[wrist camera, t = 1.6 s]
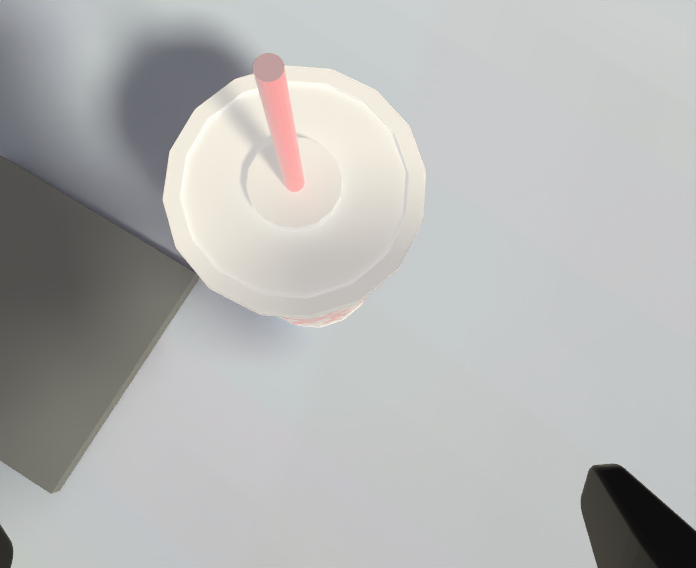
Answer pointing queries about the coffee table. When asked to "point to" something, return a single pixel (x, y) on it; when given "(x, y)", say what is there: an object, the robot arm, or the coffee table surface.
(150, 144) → the coffee table surface
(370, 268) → the beverage cup
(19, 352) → the coaster
